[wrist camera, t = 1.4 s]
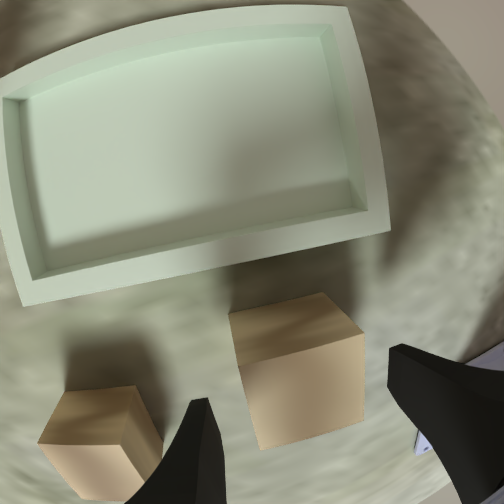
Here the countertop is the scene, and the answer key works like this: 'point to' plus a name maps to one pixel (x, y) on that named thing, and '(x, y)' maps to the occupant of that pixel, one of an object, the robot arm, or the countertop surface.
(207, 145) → the tray
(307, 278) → the countertop surface
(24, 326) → the countertop surface
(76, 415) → the cube
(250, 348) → the cube
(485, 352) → the robot arm
